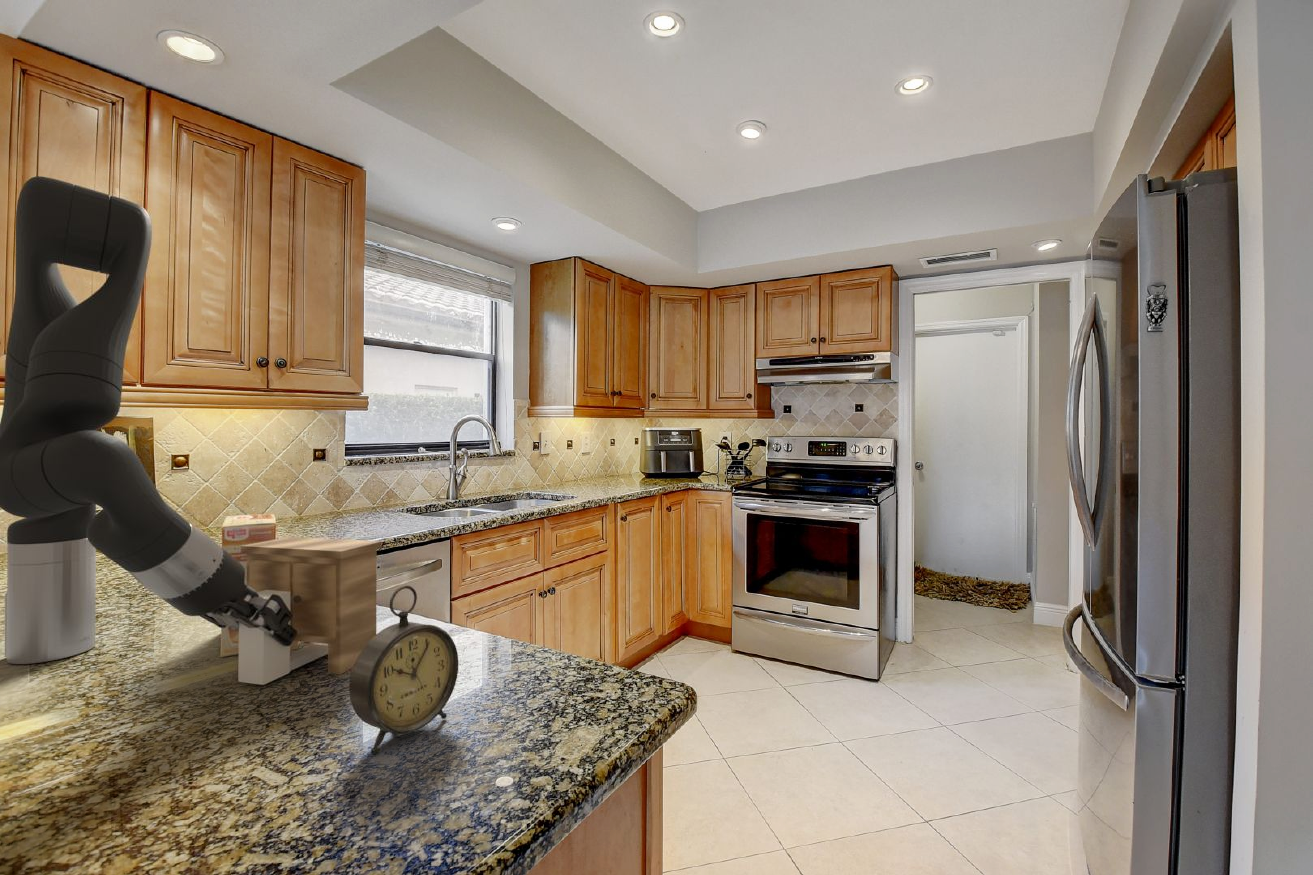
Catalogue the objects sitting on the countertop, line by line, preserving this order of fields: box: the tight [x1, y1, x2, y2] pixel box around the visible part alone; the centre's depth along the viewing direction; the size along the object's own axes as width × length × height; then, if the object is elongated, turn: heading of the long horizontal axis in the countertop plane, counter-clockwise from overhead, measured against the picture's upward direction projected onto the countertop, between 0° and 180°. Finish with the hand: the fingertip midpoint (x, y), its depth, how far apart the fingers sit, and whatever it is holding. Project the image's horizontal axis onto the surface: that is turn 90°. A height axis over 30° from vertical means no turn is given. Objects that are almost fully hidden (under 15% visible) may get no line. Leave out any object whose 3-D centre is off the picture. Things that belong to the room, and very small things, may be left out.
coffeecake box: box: [219, 513, 277, 658], centre depth 93 cm, size 15×7×20 cm, turn 34°
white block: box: [237, 590, 328, 686], centre depth 82 cm, size 4×15×11 cm, turn 166°
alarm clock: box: [348, 585, 459, 755], centre depth 63 cm, size 11×5×16 cm, turn 148°
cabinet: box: [241, 536, 383, 675], centre depth 84 cm, size 17×8×17 cm, turn 76°
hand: (277, 637), depth 79 cm, fingers closed on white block, 4 cm apart
